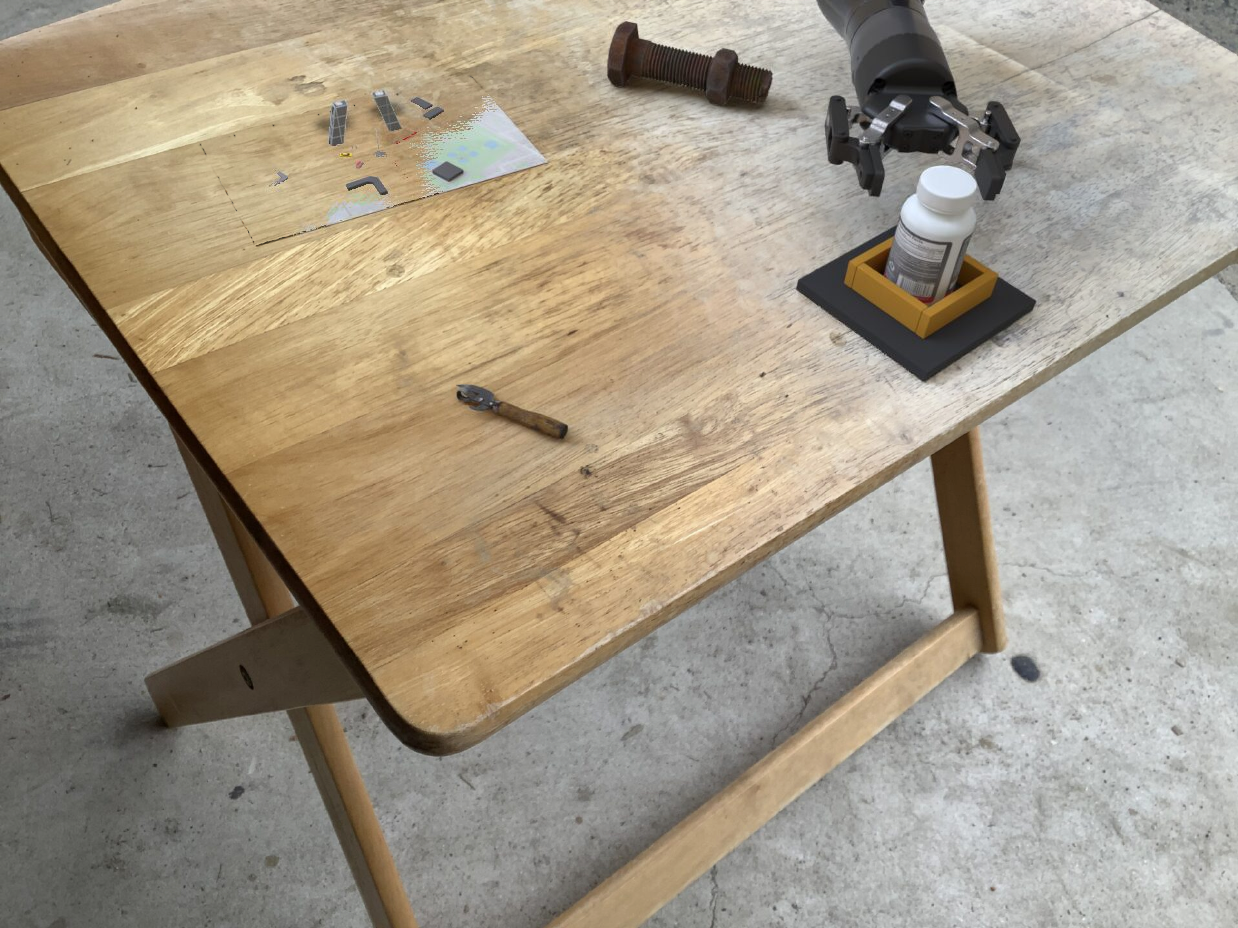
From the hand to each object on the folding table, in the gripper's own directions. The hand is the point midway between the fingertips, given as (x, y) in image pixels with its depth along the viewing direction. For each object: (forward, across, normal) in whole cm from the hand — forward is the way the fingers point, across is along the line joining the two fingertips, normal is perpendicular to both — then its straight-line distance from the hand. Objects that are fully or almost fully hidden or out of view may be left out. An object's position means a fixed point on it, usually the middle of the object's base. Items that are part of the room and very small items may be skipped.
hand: (935, 189), depth 80 cm
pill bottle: (+2, 0, +8) cm, 8 cm away
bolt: (-27, -16, +9) cm, 33 cm away
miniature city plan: (-15, -44, +9) cm, 48 cm away
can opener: (+16, -30, +9) cm, 35 cm away
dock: (+3, 0, +8) cm, 9 cm away
